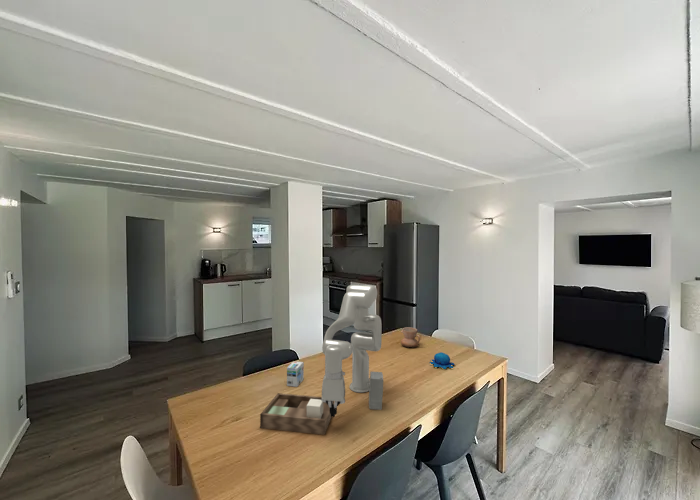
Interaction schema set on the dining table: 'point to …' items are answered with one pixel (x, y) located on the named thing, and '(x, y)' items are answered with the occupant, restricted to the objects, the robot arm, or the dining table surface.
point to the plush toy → (442, 361)
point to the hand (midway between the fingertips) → (333, 415)
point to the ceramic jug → (410, 337)
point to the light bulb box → (295, 373)
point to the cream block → (315, 408)
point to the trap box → (294, 415)
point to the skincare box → (376, 390)
